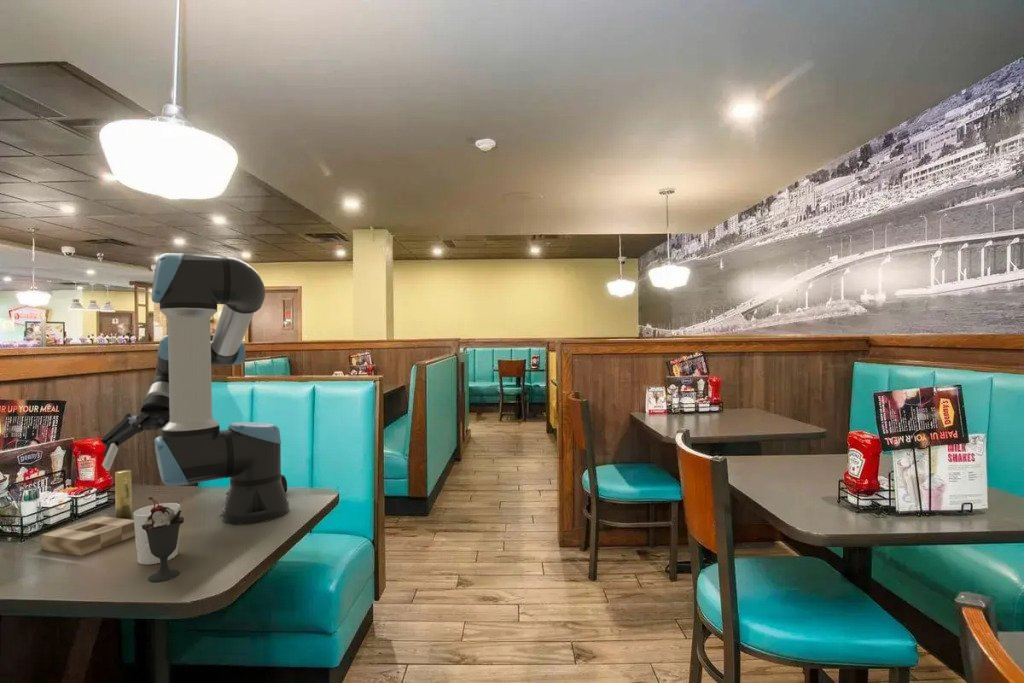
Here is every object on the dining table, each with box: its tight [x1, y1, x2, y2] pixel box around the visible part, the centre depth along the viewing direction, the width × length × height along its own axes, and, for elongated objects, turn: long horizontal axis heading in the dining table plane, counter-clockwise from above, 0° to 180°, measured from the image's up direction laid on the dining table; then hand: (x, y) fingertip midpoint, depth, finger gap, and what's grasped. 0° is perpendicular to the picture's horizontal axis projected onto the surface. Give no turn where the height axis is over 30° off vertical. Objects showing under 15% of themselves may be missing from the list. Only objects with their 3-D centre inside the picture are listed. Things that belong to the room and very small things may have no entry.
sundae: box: [141, 496, 185, 583], centre depth 97 cm, size 7×7×15 cm
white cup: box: [132, 502, 181, 566], centre depth 105 cm, size 8×8×10 cm
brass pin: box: [114, 469, 133, 520], centre depth 127 cm, size 3×3×12 cm
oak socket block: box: [40, 516, 135, 556], centre depth 113 cm, size 12×12×4 cm
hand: (135, 466), depth 134 cm, fingers open, 13 cm apart
